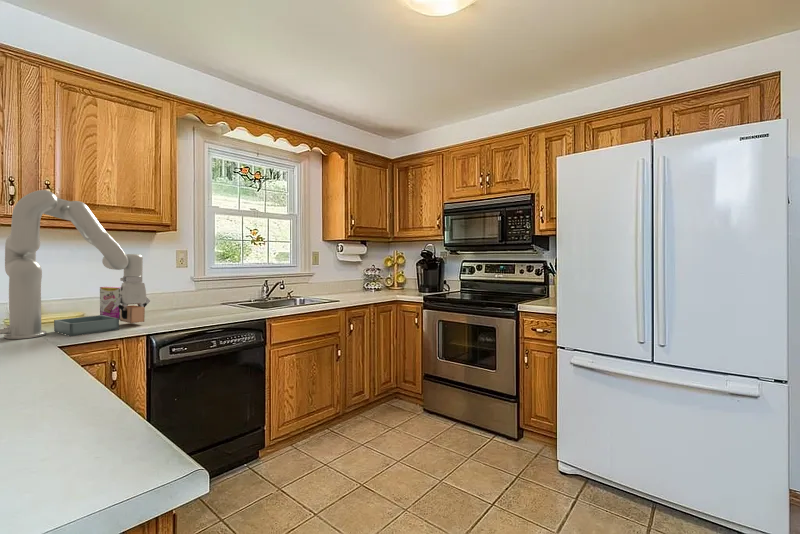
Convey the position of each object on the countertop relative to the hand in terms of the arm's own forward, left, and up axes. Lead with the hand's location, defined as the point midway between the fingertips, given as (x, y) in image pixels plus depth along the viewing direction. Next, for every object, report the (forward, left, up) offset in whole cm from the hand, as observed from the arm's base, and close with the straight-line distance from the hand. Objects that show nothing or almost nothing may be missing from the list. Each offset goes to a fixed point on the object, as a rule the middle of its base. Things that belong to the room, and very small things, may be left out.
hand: (132, 317), depth 194 cm
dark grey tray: (-18, -1, -3) cm, 19 cm away
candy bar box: (+3, +25, -4) cm, 25 cm away
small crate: (0, 0, -2) cm, 2 cm away
